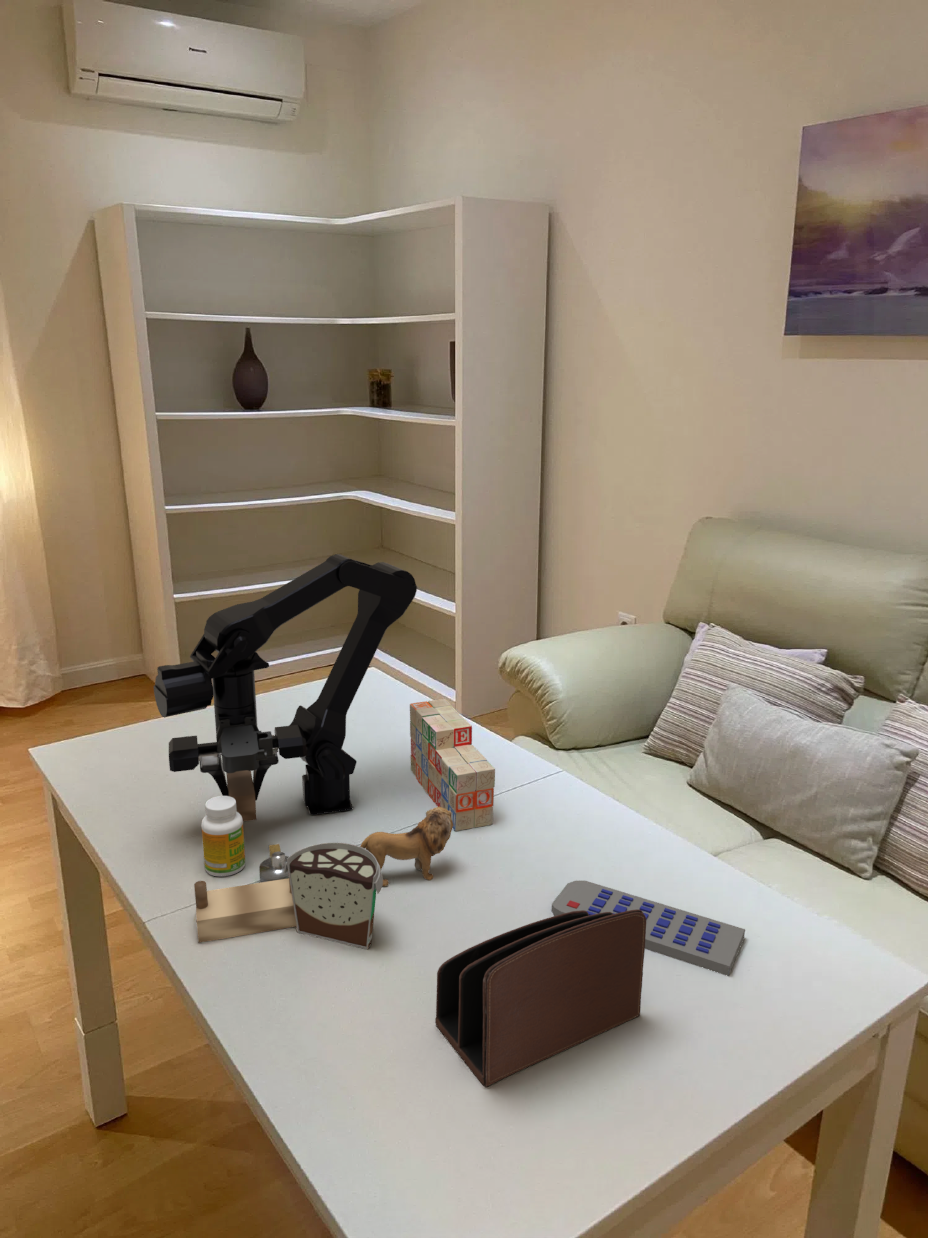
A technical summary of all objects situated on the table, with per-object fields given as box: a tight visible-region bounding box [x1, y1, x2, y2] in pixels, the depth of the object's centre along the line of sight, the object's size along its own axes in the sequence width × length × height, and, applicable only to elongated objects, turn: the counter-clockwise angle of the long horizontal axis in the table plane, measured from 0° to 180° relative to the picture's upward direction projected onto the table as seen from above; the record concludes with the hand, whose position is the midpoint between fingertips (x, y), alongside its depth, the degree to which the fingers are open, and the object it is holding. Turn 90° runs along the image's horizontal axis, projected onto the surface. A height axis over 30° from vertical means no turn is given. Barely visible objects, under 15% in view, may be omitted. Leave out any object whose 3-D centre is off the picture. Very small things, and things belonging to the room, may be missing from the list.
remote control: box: [550, 880, 746, 977], centre depth 113 cm, size 8×23×2 cm, turn 61°
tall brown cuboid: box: [225, 770, 257, 823], centre depth 132 cm, size 4×8×4 cm, turn 17°
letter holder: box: [434, 909, 646, 1088], centre depth 95 cm, size 10×20×14 cm, turn 121°
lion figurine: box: [359, 806, 453, 887], centre depth 121 cm, size 15×5×9 cm, turn 112°
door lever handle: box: [258, 843, 290, 883], centre depth 122 cm, size 5×8×4 cm, turn 17°
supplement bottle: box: [201, 795, 246, 877], centre depth 123 cm, size 5×5×10 cm
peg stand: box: [193, 878, 297, 944], centre depth 112 cm, size 13×6×6 cm, turn 107°
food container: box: [284, 842, 384, 950], centre depth 111 cm, size 12×6×10 cm, turn 71°
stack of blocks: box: [409, 698, 496, 832], centre depth 142 cm, size 21×6×12 cm, turn 21°
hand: (241, 801), depth 132 cm, fingers closed on tall brown cuboid, 3 cm apart
